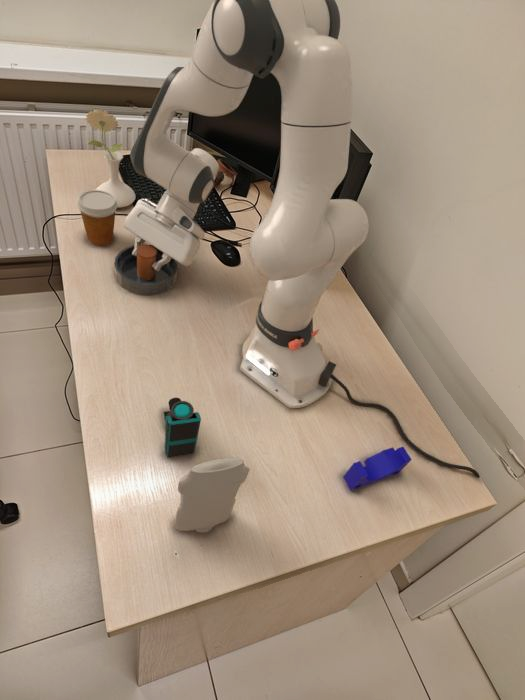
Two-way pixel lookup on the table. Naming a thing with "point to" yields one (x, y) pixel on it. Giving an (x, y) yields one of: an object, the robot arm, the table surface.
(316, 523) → the table surface
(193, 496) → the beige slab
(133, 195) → the flower in vase
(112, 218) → the disposable coffee cup
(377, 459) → the blue toy truck
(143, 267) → the copper tin
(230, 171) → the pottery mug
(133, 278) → the bowl
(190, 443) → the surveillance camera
